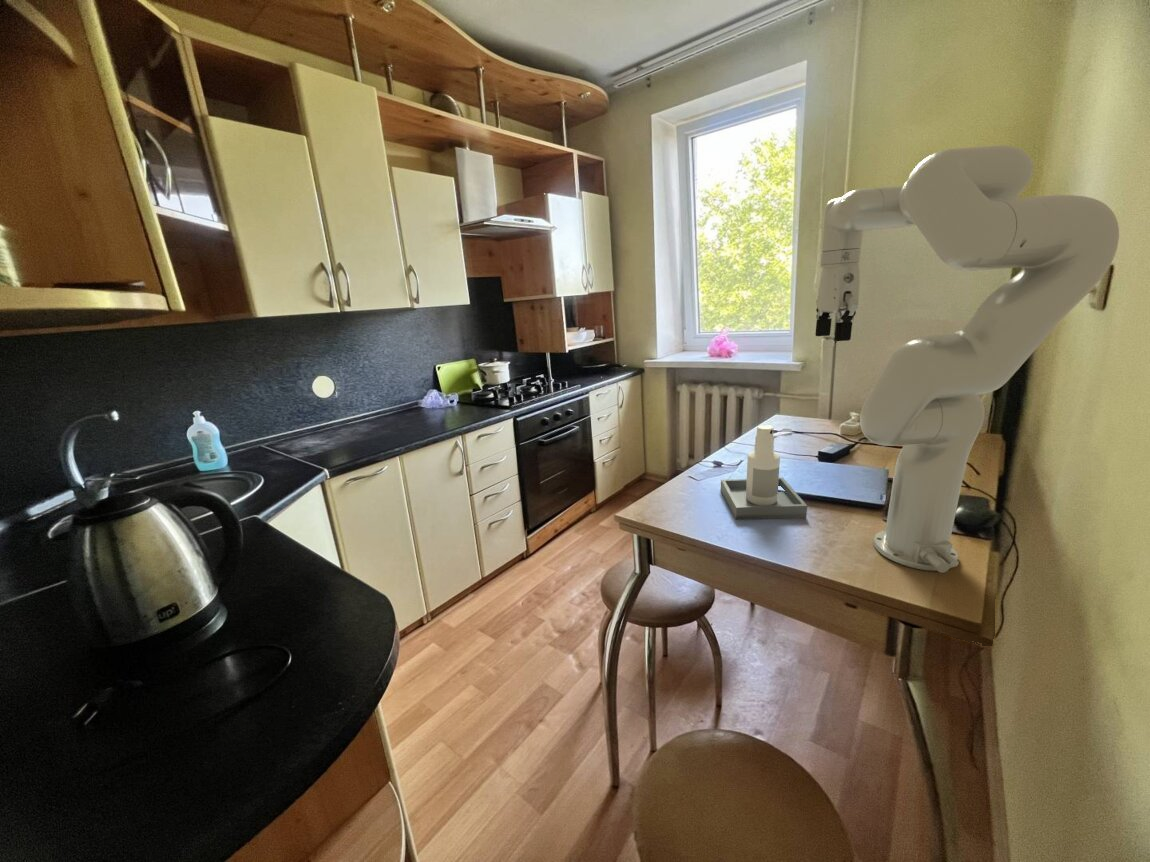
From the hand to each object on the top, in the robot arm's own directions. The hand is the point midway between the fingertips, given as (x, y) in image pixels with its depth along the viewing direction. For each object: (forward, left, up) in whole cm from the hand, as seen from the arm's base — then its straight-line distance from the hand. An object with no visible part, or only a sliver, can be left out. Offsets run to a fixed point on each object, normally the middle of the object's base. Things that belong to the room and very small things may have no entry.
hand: (831, 338), depth 104 cm
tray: (-11, +17, -36) cm, 42 cm away
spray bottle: (-11, +17, -36) cm, 41 cm away
